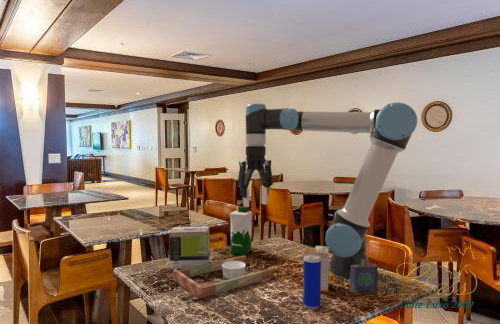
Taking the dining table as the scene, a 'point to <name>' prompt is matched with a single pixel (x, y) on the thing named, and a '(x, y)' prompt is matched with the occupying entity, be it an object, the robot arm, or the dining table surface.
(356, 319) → the dining table surface
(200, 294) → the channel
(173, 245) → the tea box
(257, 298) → the dining table surface
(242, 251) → the milk carton
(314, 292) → the beverage can
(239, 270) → the ramekin
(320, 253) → the supplement box
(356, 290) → the flask
